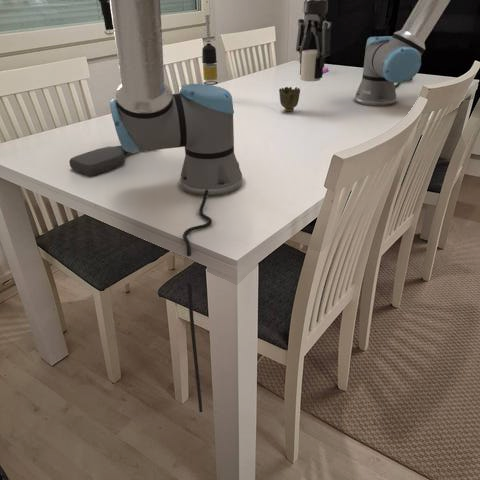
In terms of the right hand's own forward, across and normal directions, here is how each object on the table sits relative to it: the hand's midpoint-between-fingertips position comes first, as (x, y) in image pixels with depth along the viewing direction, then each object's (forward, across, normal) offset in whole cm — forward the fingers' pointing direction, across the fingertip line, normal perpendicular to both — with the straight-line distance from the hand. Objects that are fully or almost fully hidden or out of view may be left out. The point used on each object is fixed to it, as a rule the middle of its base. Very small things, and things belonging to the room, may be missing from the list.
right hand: (310, 76), depth 151 cm
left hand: (-18, -5, -61) cm, 64 cm away
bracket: (+13, -51, +51) cm, 73 cm away
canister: (+1, 0, 0) cm, 1 cm away
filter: (+13, -40, -16) cm, 45 cm away
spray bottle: (+14, +1, -71) cm, 72 cm away
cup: (+13, -6, -4) cm, 15 cm away
